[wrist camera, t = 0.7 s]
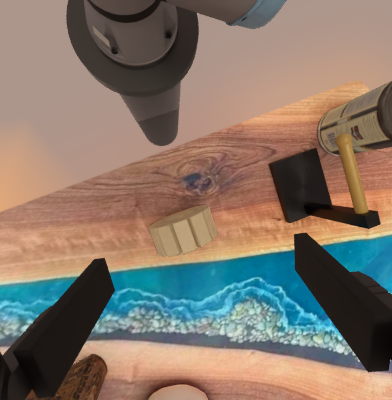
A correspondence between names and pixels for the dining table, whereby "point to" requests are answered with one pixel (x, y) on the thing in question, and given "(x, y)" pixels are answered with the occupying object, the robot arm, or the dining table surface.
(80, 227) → the dining table surface
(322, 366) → the dining table surface
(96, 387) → the book
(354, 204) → the hook stand
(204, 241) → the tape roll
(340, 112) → the coffee can
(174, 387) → the pot
